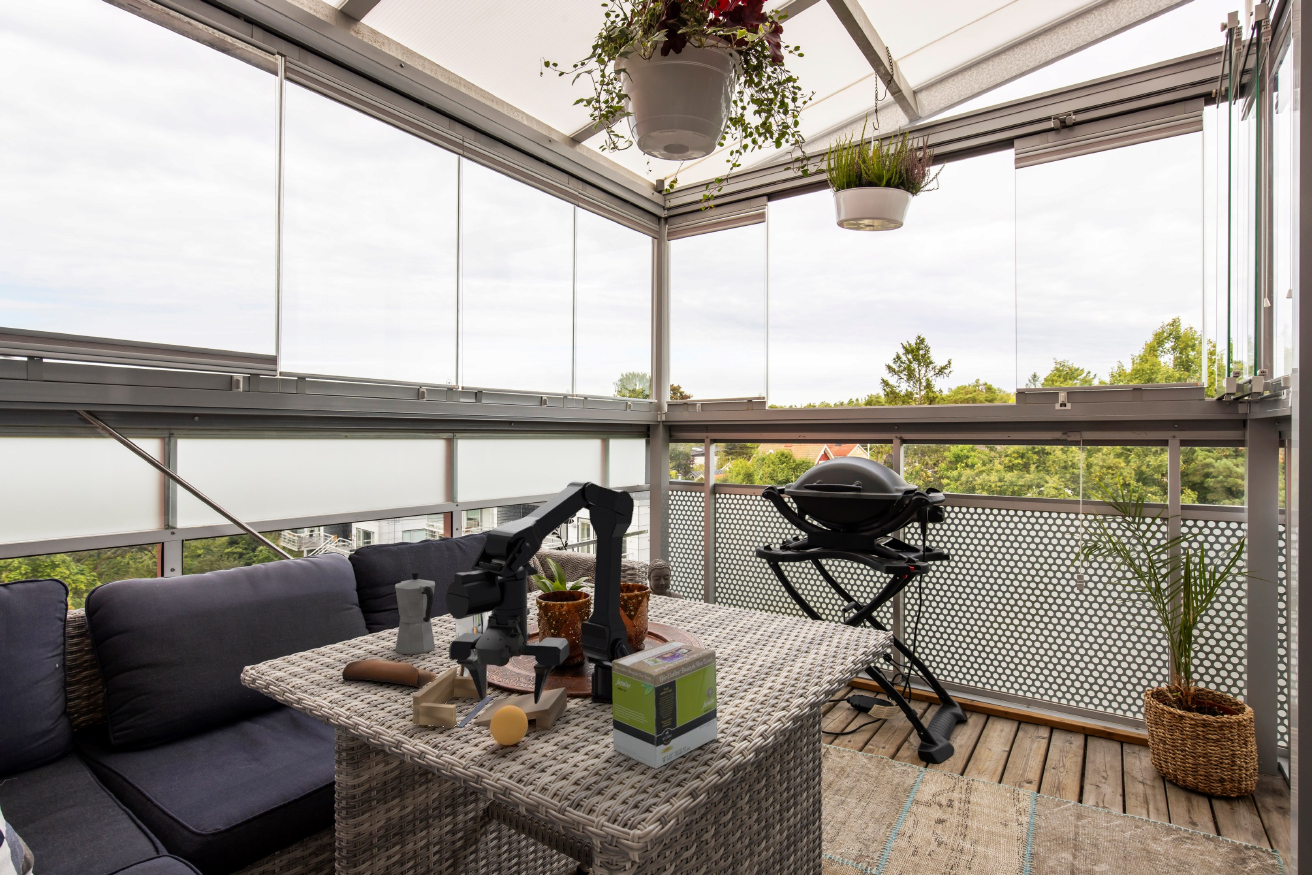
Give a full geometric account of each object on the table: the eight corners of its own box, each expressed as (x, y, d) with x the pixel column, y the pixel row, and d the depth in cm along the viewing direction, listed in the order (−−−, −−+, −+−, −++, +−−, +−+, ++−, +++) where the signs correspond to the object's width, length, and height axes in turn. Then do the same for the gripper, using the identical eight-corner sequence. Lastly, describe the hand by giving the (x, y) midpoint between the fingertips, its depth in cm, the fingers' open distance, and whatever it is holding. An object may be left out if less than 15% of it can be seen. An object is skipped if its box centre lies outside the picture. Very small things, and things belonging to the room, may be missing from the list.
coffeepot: (384, 646, 163) (384, 569, 163) (422, 637, 169) (422, 564, 169) (411, 662, 152) (411, 580, 151) (451, 653, 158) (451, 574, 158)
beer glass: (481, 687, 137) (481, 611, 137) (449, 684, 139) (449, 609, 138) (496, 674, 144) (496, 603, 144) (465, 672, 145) (465, 601, 145)
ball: (532, 736, 115) (532, 700, 115) (520, 753, 109) (520, 715, 109) (498, 733, 116) (498, 698, 116) (484, 750, 110) (484, 712, 110)
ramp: (567, 711, 128) (567, 687, 128) (549, 735, 118) (549, 708, 118) (495, 706, 130) (495, 682, 130) (473, 729, 120) (473, 703, 120)
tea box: (673, 721, 121) (674, 637, 121) (718, 739, 114) (719, 650, 114) (610, 750, 111) (610, 658, 110) (655, 771, 104) (656, 673, 103)
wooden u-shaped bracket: (494, 696, 132) (494, 670, 132) (460, 728, 118) (460, 699, 118) (451, 693, 134) (451, 667, 134) (412, 724, 120) (412, 696, 120)
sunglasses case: (442, 674, 144) (433, 652, 141) (425, 702, 138) (415, 680, 135) (368, 666, 149) (357, 644, 145) (349, 693, 143) (337, 671, 140)
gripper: (432, 616, 106) (432, 717, 106) (548, 622, 103) (548, 726, 103) (464, 598, 117) (464, 690, 117) (570, 603, 114) (570, 697, 114)
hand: (509, 701), depth 113 cm, fingers open, 9 cm apart
